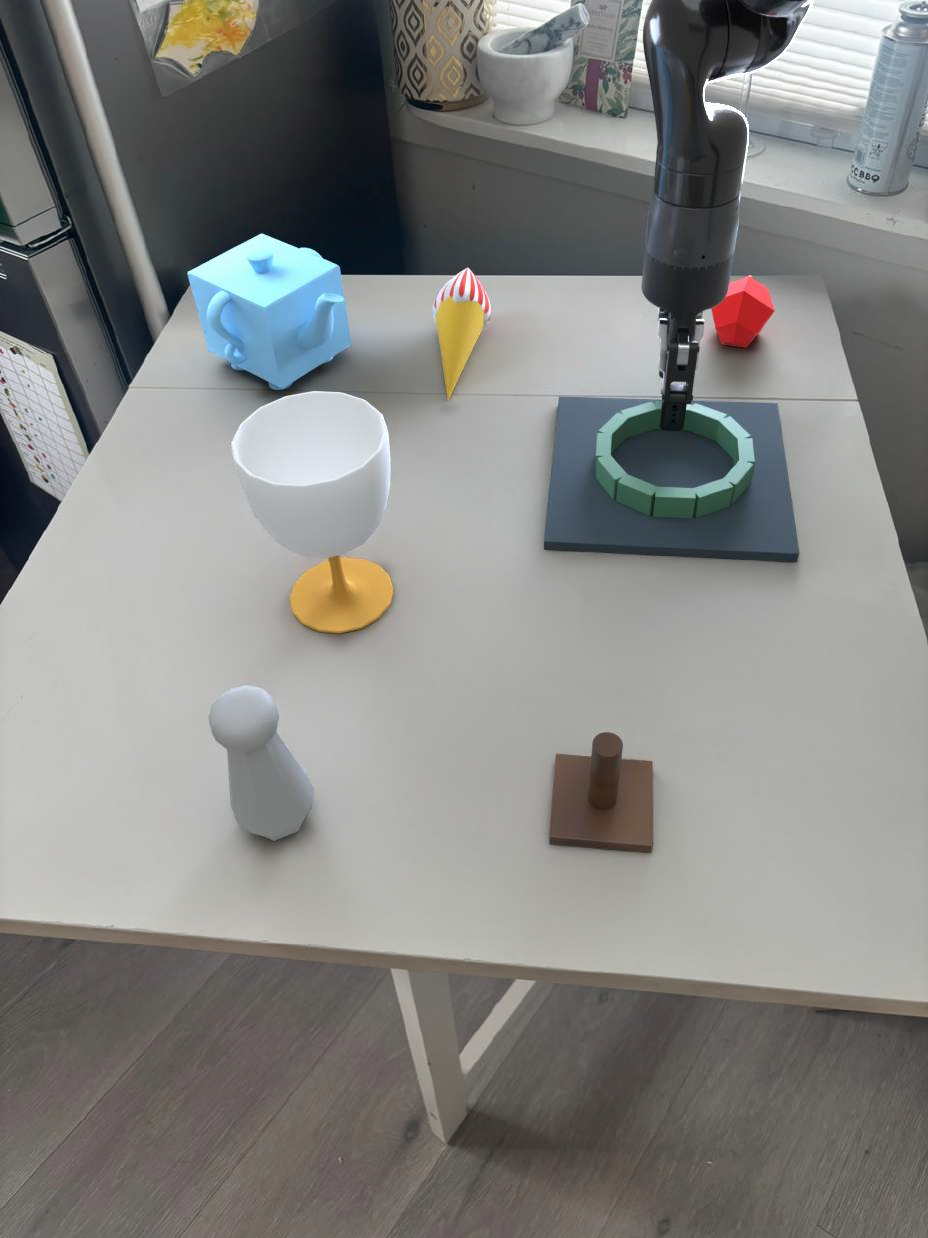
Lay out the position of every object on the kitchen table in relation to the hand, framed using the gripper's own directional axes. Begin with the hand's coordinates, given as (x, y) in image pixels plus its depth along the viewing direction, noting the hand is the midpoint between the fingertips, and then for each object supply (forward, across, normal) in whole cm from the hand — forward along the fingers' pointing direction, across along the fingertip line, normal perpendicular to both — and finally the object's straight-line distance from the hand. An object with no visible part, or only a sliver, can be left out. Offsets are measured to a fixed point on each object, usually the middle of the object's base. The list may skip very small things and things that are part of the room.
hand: (670, 401), depth 96 cm
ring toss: (+4, -44, +5) cm, 44 cm away
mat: (+4, -6, 0) cm, 8 cm away
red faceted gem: (+4, +18, -8) cm, 21 cm away
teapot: (+4, +10, +40) cm, 41 cm away
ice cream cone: (+4, +14, +23) cm, 27 cm away
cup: (+4, -24, +28) cm, 37 cm away
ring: (+3, -6, 0) cm, 7 cm away
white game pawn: (+4, -46, +28) cm, 54 cm away
